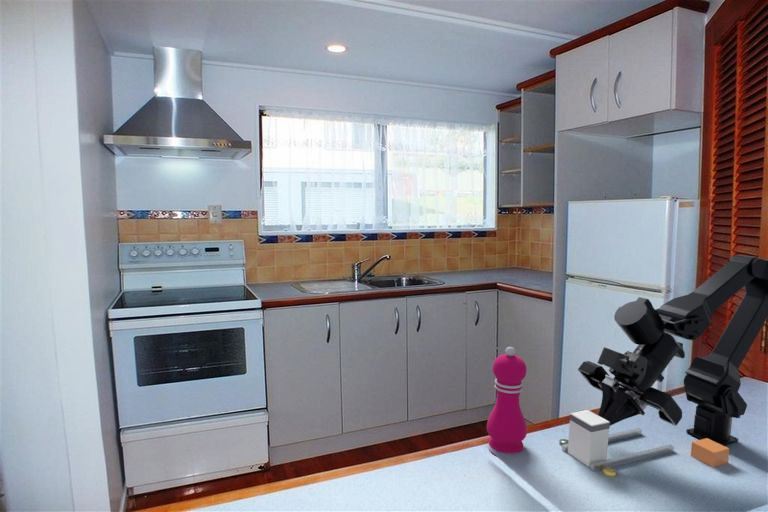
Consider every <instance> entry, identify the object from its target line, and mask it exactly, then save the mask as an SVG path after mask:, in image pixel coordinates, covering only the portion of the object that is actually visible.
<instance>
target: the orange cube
mask: <svg viewBox="0 0 768 512" xmlns="http://www.w3.org/2000/svg"><path fill="white" fill-rule="evenodd" d="M690 447H691V448H690V457H692V458H694V459H696V460H698V461H700V462H701V463H704V464H706V465H708V466H710V467H711V468H715V467H718V466H721V465H725V464H728V463H729V458H730V448H729V447H727V446H726V445H721V444H719V443H717V442H714V441H712V440H710V439H708V438H705V439H698V440H695V441H691V446H690Z"/></svg>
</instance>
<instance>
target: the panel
mask: <svg viewBox="0 0 768 512" xmlns="http://www.w3.org/2000/svg"><path fill="white" fill-rule="evenodd" d="M642 433H643V430H642V429H641V428H640V427H638V428H632V429H628V430H624V431H619V432H614V433H609V436H608V443H611V442H615V441H619V440H624V439H628V438H633V437H636V436H641V435H643V434H642ZM568 442H569V439H566V438H561V439H559V442H558V443H559V446H561V451H563V452H564V453H566V452H567V453H568ZM674 449H675V446H674V445H672V444H666V445H662V446H657V447H653V448H649V449H646V450H642V451H641V450H640V451H638V452H633V453H630V454H625V455H622V456H621V455H620V456H618V457H612V458H609V459H608V458H607V460H604V461H600V462H596V463H592V464H590V467H589V470H591V471H592V472H597V471H598V472H599V471H601V470H602V474H603V475H605V476H606V477H610V478H615V477H616V475H617V470H616V469H615V468H613V467H618V466H622V465H625V464H629V463H634V462H638V461H641V460H645V459H649V458H652V457H657V456H659V455H665V454H668V453H673V452H674Z"/></svg>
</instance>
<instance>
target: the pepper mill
mask: <svg viewBox="0 0 768 512" xmlns="http://www.w3.org/2000/svg"><path fill="white" fill-rule="evenodd" d="M492 372H493V376H494V377H495V379H494V383H495V384H494V388H495V389H496V402H495V404H494V407H493V409H492V411H491V412H490V414H489V416H488V418H487V422H486V423H487V424H486V431H487V434H488V436H490V437H489V439H488V445H489V446H490V448H492V449H493V450H495V451H497V452H499V453H504V454H517V453H520V452H522V450H524V443H523V441H524V440H525V438H526V437H527V433H528V430H527V423H526V419H525V417H524V415H523V414H524V413H523V412H522V410H521V406H520V393H522V392H523V389H524V388H523V385H524V383H523V380H524V379H525V377H526V376H527V365H526V362H525V361H524V360H523V358H522V357H520V356H518V355H516V349H515V348H514V347H513V346H507V347H506V348H505V351H504V354H501V355H498V356H497V357H496V358H495V359H494V361H493V364H492ZM488 451H489V453H491V455H493V456H494V457H497V458H498V456H497V455H496V454H495V453H494V452H492V451H491V450H490V449H488Z"/></svg>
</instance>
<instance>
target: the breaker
mask: <svg viewBox="0 0 768 512" xmlns="http://www.w3.org/2000/svg"><path fill="white" fill-rule="evenodd" d="M568 427H569V428H568V430H569V431H568V440H569V442H568V451H567V453H568V455H570V456H572V457H573V458H575V459H577V461H579V462H581V463H582V464H584V465H585V466H586V467H588V468H590V464H592V463H596V462H600V461H604V460H608V447H609V442H608V436H609V434H610V422H609V421H607V420H605V419H604V418H602V417H600V416H598V414H596V413H595V412H592V411H591V410H589V409H584V410H581V411H574V412H570V413H569V426H568Z"/></svg>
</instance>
